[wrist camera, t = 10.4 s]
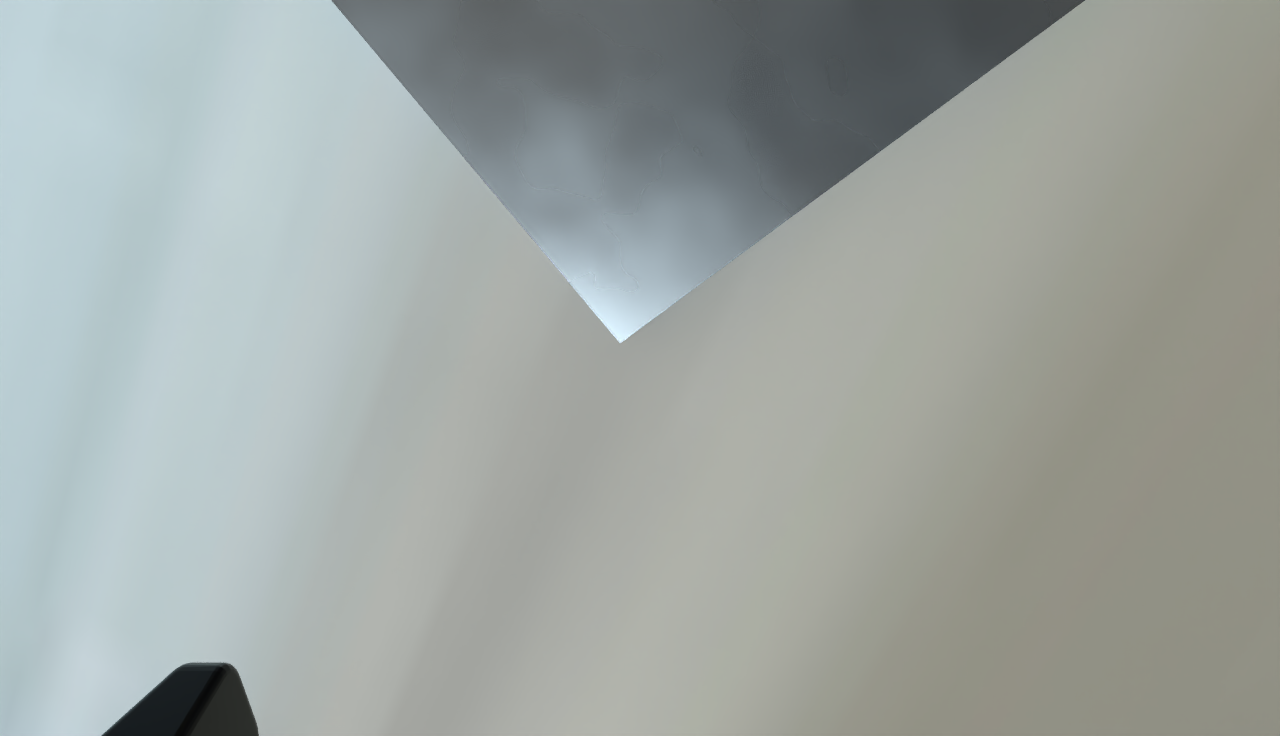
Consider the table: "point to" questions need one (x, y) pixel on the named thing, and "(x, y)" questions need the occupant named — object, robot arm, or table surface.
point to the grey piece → (678, 114)
